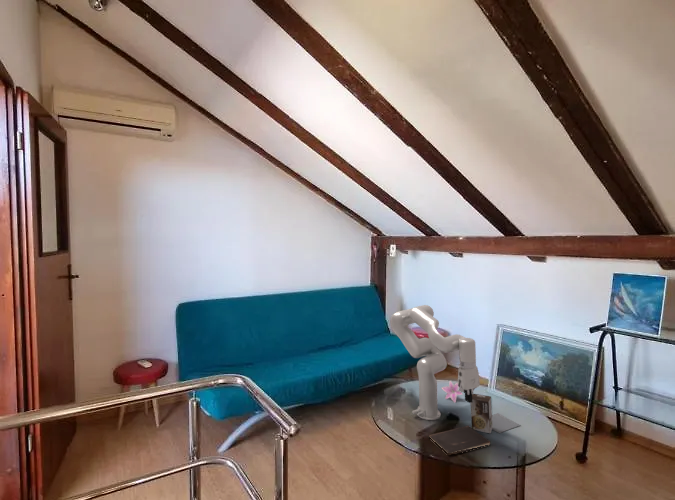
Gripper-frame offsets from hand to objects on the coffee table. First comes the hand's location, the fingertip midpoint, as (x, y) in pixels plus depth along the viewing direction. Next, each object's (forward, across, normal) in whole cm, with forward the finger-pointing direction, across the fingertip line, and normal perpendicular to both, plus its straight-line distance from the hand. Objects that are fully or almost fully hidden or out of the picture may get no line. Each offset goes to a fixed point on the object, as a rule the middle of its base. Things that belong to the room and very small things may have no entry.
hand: (468, 401), depth 183 cm
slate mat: (+16, +21, +1) cm, 26 cm away
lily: (+16, +20, +33) cm, 42 cm away
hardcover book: (+17, -9, -2) cm, 20 cm away
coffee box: (+16, +9, +1) cm, 19 cm away
